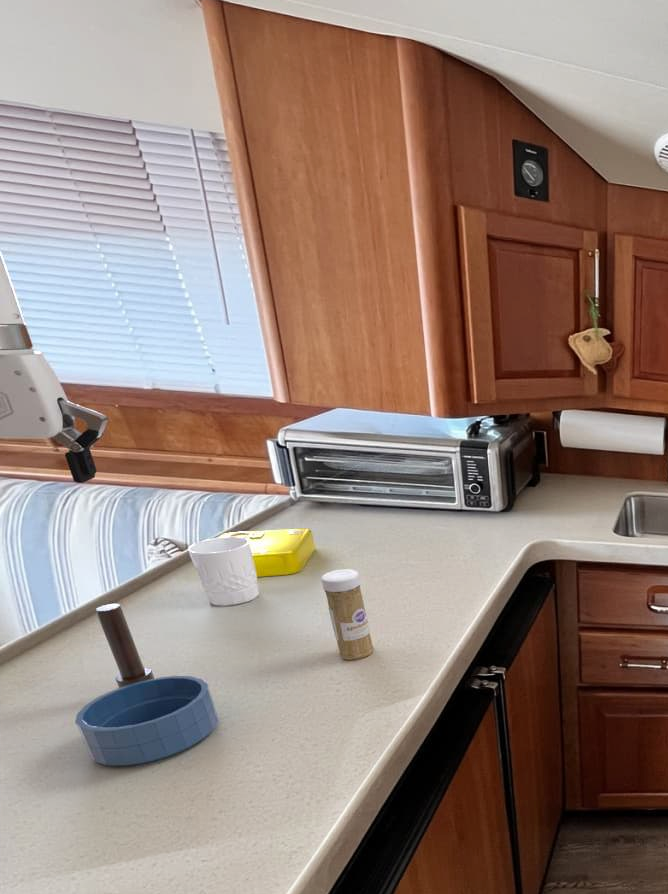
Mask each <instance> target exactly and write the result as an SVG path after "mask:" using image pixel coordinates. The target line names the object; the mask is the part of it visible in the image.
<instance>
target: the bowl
mask: <svg viewBox="0 0 668 894" xmlns="http://www.w3.org/2000/svg"><path fill="white" fill-rule="evenodd" d="M218 714H219V713H218V711H217V708H216V706H215V703H214V700H213V696H212V693H211V690H210V687H209V684H208V683H207V682H206V681H205V680H203V678H201V677H197V676H192V675H168V676H161V677H159V676H158V677H154V679H149V680H145V681H140V682H136V683H133V684H130V685H127V686H124V687H121V688H119V687H118V688H114V689H113V690H111V691H108V692H106V693H104V694H102V695H100V696H98V697H96V698H94V699H93V700H91V701H90V702H88V703H87V704H85V705H84V706H83V707H82V708H81V709H80V710H79V711H78V712H77V713H76V717H75V720H74V724H75V725H76V728H77V730H78V732H79V734H80V737H81V739H82V741H83V743H84V745H85V747H86V750H87V752H88V755H89V757H90V758H91V759H92V760H93V761H94V762H96V763H98V764H102V765H106V766H132V765H133V766H134V765H142V764H146V763H151V762H155V761H159V760H163V759H166V758H168V757H171V756H173V755H176V754H179V753H180V752H183V751H186V750H187V749H189V748H190V747H192V746H194V745H196V744H197V743H199V742H200V741H202V740H203V739H204V738H205V737H207V736H208V735H209V734H211V733H212V732H213V731H214V729H215V728H216V726H217V724H218V723H219V715H218Z"/></svg>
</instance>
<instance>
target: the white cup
mask: <svg viewBox="0 0 668 894" xmlns="http://www.w3.org/2000/svg"><path fill="white" fill-rule="evenodd" d="M187 552H188V554H189V557H190V560H191V561H192V565H193V567H194V570H195V572H196V575H197V578H198V580H199V581H200V584H201V586H202V588H203V590H204V593H205V595H206V597H207V600H208V603H209V604H212V605H213V606H222V607H226V606H236V605H239V604H243V603H247V602H250V601H252V600H254V599H256V598H258V597H259V596H260V590H259V585H258V577H257V576H256V569H255V564H254V560H253V555H252V550H251V545H250V541H249V540H248V539H246V538H242V537H221V538H218V537H214V538H209V539H205V540H201V541H198V542H195V543H193V544H191V545H189V546H188V547H187Z"/></svg>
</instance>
